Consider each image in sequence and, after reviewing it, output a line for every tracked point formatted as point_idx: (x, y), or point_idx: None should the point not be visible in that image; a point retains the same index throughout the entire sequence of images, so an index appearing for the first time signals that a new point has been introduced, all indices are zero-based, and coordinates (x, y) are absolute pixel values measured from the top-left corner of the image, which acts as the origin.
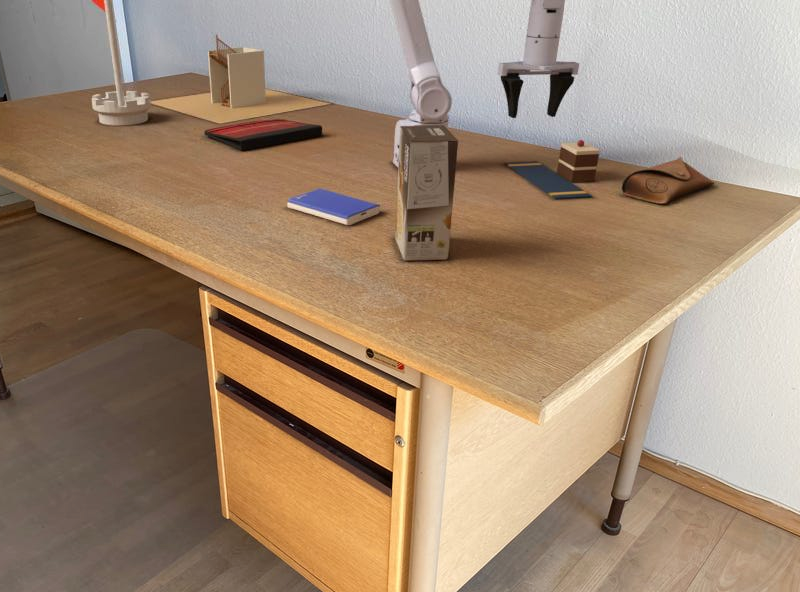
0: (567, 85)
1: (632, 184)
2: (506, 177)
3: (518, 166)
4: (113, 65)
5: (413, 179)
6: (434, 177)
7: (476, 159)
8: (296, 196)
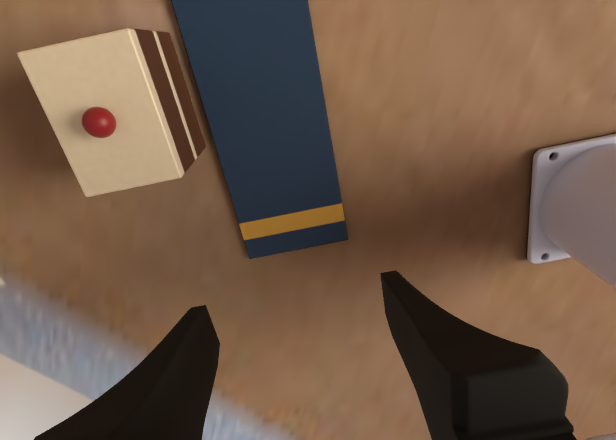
0: (87, 417)
1: None
2: (379, 95)
3: (317, 201)
4: None
5: None
6: None
7: (415, 278)
8: None
